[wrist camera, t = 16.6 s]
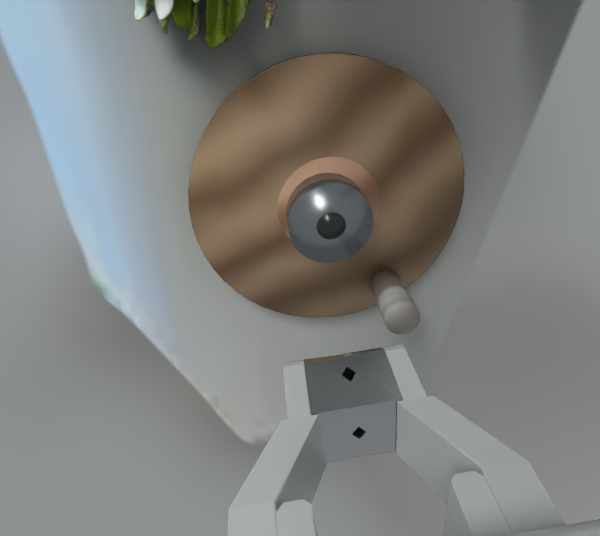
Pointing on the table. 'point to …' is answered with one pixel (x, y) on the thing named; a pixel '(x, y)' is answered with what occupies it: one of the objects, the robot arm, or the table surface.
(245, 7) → the passion flower
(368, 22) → the table surface
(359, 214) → the pot lid
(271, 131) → the turntable
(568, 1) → the table surface
